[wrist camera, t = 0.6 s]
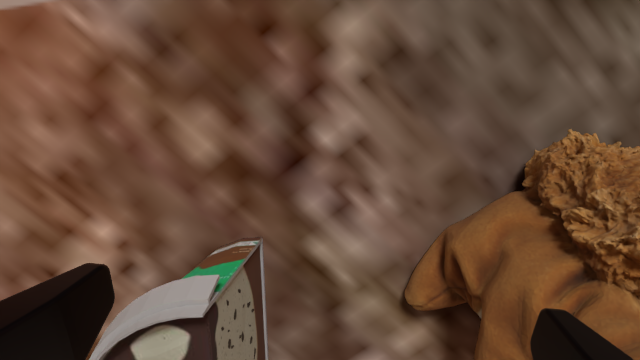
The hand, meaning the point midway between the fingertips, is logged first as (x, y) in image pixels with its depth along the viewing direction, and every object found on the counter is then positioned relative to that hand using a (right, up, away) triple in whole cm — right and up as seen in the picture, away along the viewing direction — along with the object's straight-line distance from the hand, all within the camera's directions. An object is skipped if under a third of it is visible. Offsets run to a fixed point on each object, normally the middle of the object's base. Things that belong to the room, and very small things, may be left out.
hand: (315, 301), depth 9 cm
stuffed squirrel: (+12, -1, +15) cm, 19 cm away
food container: (-6, -5, +17) cm, 19 cm away
